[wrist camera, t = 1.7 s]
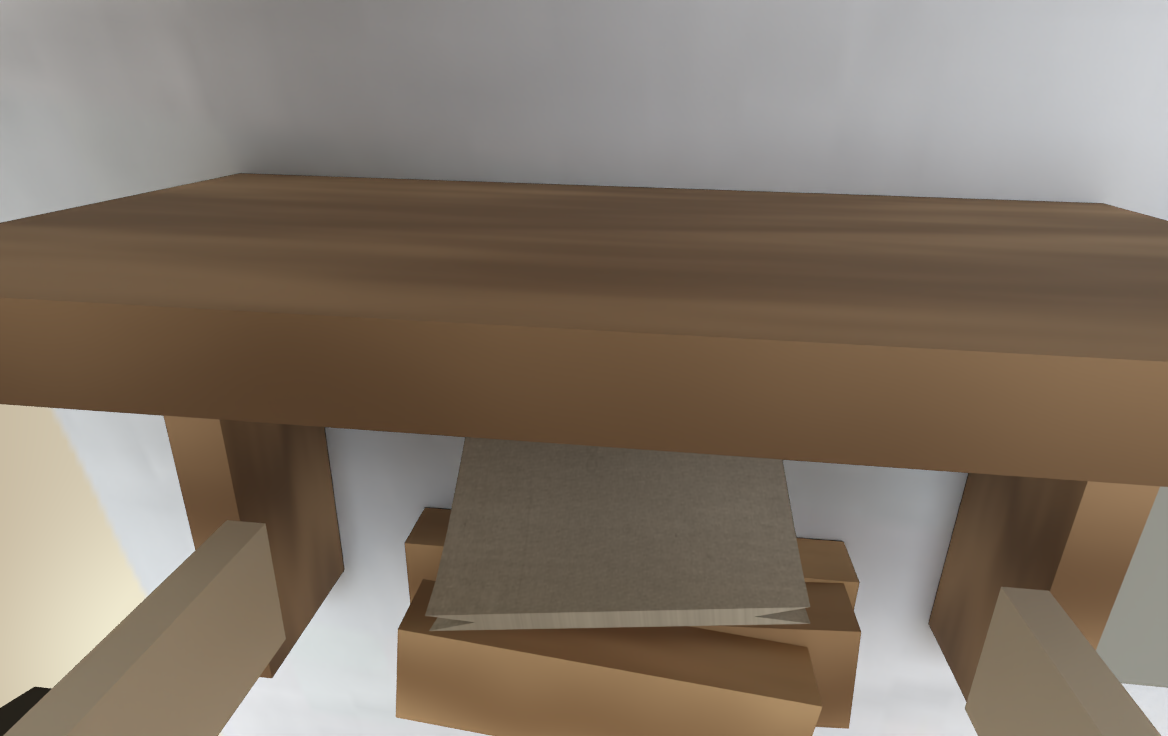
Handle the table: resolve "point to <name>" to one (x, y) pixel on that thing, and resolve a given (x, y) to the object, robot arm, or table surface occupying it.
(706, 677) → the offcut stack
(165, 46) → the table surface
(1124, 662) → the mat
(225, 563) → the robot arm
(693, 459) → the tea bag
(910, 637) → the table surface
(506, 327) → the bench
